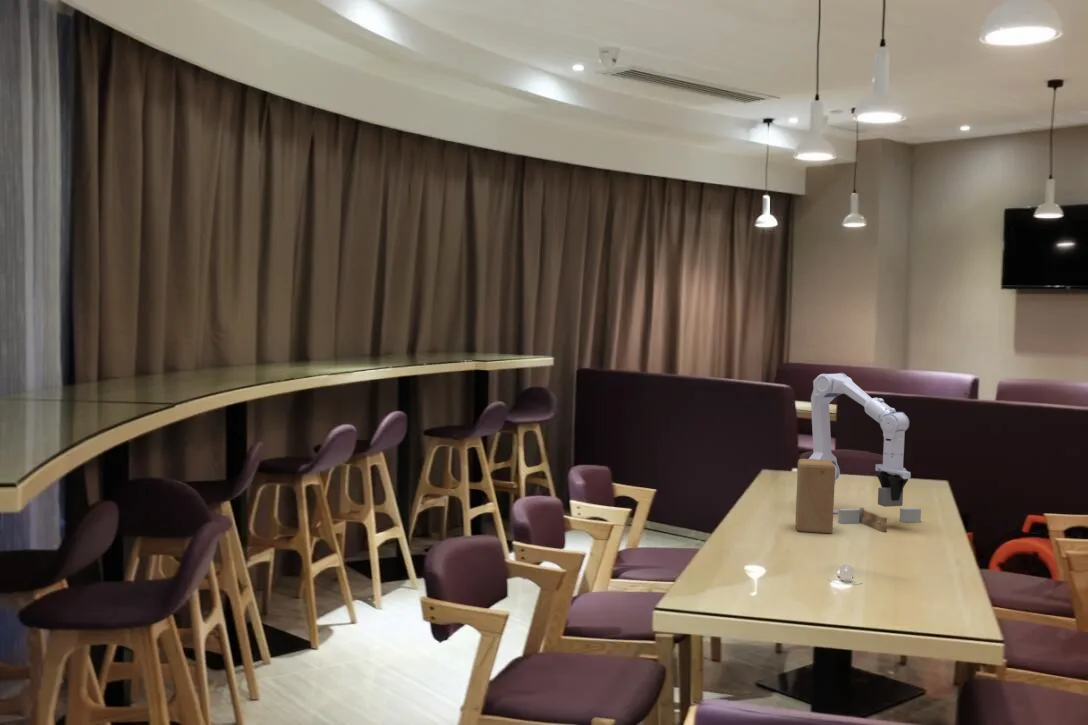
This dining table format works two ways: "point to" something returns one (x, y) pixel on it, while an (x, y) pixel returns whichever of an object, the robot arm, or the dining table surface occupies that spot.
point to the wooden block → (815, 495)
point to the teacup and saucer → (845, 572)
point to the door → (874, 520)
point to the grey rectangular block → (888, 497)
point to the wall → (856, 515)
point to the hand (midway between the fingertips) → (891, 498)
